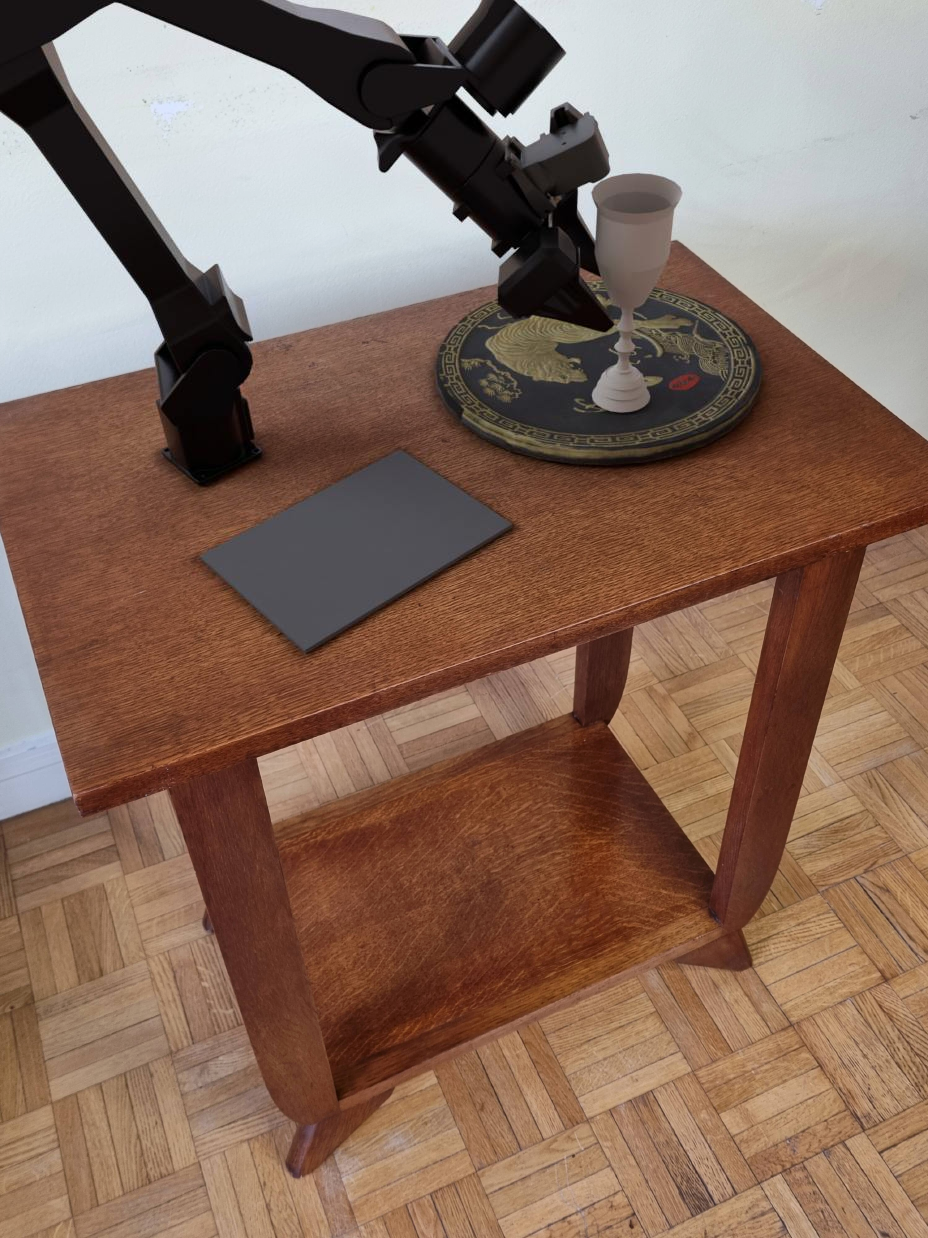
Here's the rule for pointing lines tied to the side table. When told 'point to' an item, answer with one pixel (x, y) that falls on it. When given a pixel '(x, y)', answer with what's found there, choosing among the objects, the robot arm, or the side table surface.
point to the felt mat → (353, 548)
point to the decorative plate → (572, 366)
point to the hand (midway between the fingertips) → (608, 299)
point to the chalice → (631, 267)
